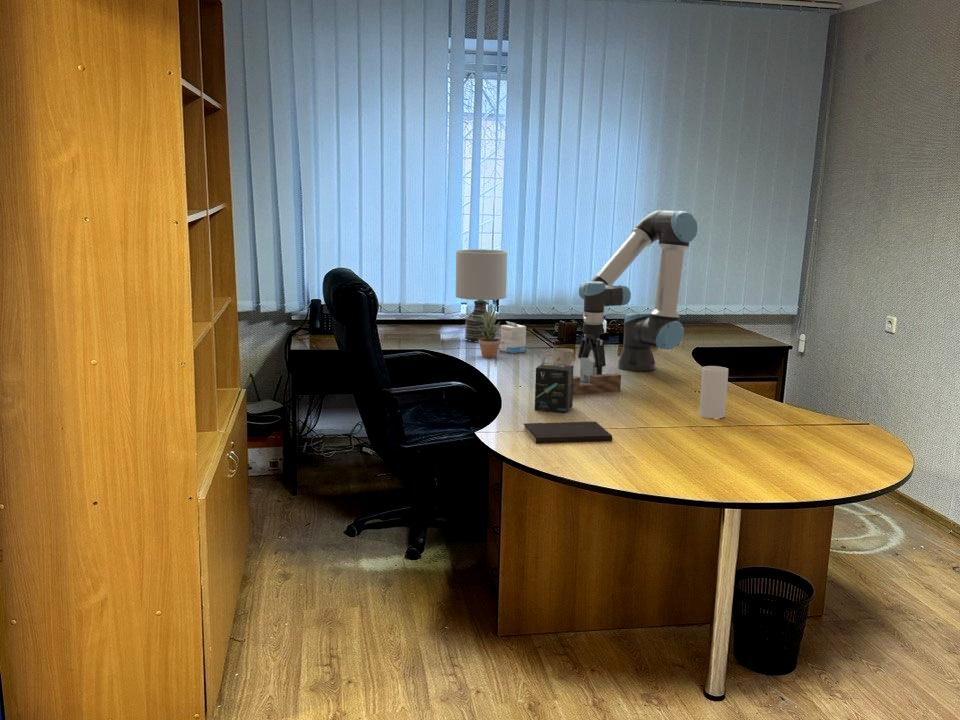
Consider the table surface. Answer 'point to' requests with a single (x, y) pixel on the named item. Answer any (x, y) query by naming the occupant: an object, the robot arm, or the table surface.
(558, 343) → the table surface
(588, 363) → the blue-grey notched block
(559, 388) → the tampon box
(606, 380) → the walnut rail
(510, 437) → the table surface
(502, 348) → the white box
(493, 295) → the lamp
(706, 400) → the cup
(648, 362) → the robot arm
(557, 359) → the mug
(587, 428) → the hardcover book
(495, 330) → the potted plant
